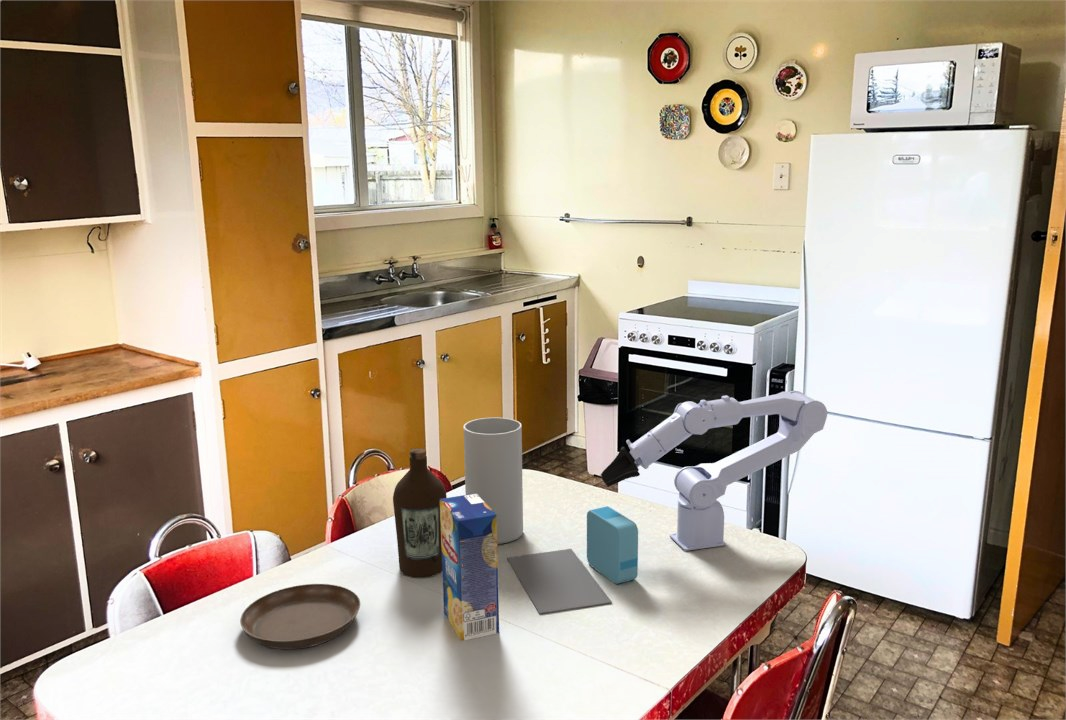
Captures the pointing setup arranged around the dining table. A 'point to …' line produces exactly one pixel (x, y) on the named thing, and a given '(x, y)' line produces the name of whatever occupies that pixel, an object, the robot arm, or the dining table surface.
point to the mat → (557, 581)
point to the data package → (612, 544)
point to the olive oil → (419, 518)
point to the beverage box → (469, 566)
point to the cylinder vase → (496, 471)
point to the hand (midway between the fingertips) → (604, 481)
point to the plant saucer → (300, 615)
